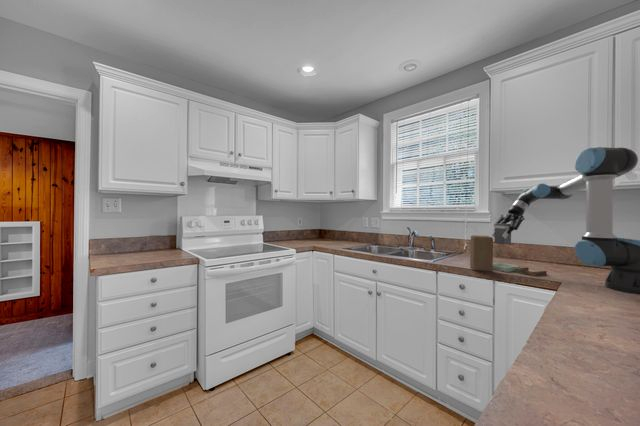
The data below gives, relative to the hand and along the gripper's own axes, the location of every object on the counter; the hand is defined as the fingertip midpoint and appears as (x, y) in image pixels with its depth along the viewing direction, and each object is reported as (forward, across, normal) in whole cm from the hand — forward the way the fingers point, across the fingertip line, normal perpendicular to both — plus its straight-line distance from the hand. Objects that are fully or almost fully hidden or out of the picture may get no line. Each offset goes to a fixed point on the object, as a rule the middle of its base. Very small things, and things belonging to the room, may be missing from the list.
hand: (498, 236), depth 167 cm
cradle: (+8, -14, -20) cm, 25 cm away
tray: (+12, -1, -16) cm, 20 cm away
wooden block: (+22, +2, -6) cm, 23 cm away
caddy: (+1, 0, -6) cm, 6 cm away
